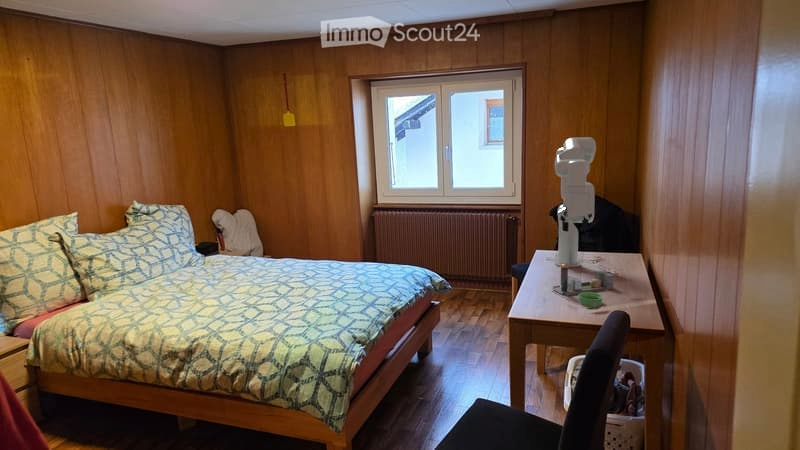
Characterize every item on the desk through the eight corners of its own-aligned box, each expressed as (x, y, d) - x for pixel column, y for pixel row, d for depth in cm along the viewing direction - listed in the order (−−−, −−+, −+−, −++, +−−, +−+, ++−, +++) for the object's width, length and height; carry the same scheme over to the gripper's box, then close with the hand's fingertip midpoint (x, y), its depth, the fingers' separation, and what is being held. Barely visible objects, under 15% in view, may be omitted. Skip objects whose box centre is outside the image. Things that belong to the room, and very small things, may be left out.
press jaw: (552, 289, 212) (553, 263, 210) (571, 286, 214) (572, 261, 212) (562, 294, 205) (563, 267, 203) (581, 291, 208) (582, 265, 206)
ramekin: (574, 303, 200) (574, 292, 200) (595, 301, 201) (596, 291, 200) (584, 311, 192) (584, 300, 191) (606, 309, 192) (607, 298, 191)
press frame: (551, 291, 215) (552, 274, 214) (598, 285, 221) (599, 268, 220) (567, 300, 204) (568, 282, 202) (617, 293, 210) (618, 276, 209)
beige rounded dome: (589, 286, 215) (589, 279, 215) (597, 285, 216) (597, 278, 216) (595, 289, 211) (595, 282, 211) (603, 288, 212) (603, 280, 212)
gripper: (588, 188, 213) (586, 227, 216) (553, 190, 208) (552, 230, 211) (599, 189, 206) (598, 230, 209) (564, 191, 201) (562, 233, 204)
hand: (575, 230), depth 210 cm, fingers open, 9 cm apart
